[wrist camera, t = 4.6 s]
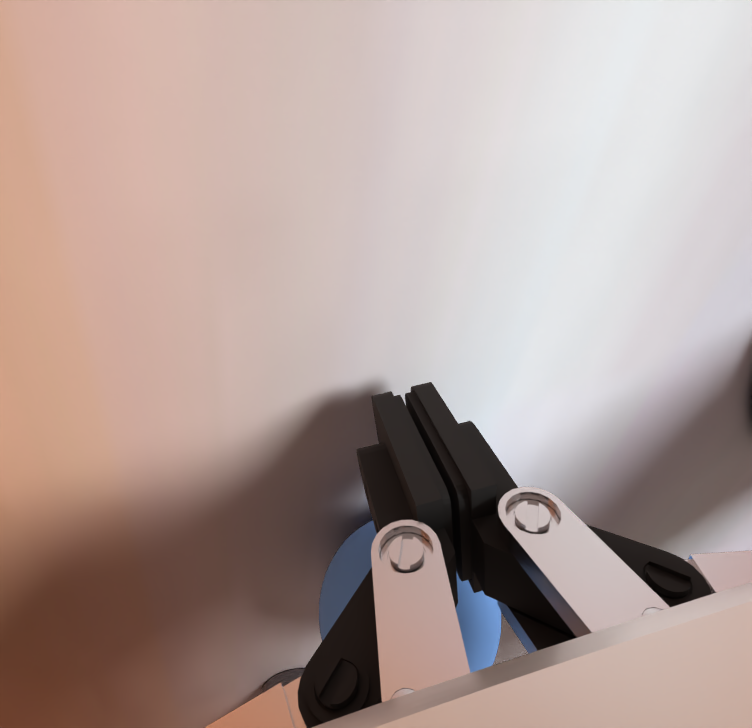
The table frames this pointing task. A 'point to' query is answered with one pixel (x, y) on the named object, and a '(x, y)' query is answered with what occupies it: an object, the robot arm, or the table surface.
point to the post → (283, 678)
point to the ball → (473, 609)
